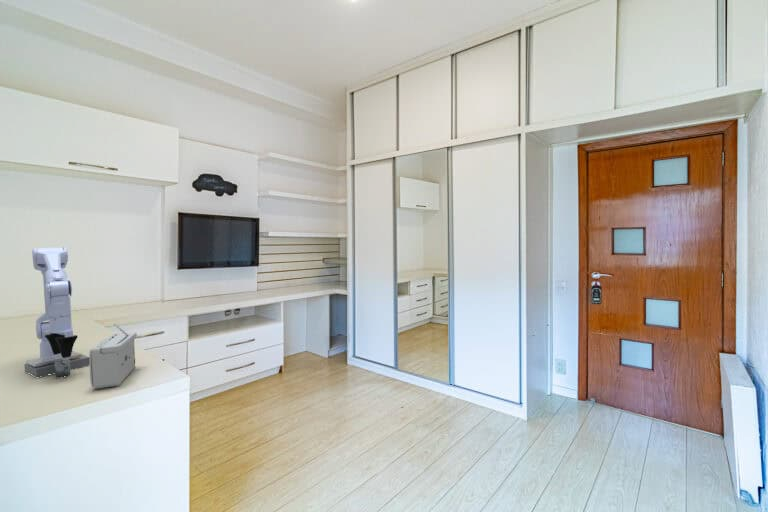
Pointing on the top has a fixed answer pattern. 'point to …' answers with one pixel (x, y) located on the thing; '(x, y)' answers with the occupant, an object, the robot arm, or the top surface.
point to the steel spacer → (62, 368)
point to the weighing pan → (51, 359)
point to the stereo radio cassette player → (112, 360)
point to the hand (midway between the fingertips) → (62, 355)
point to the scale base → (50, 367)
